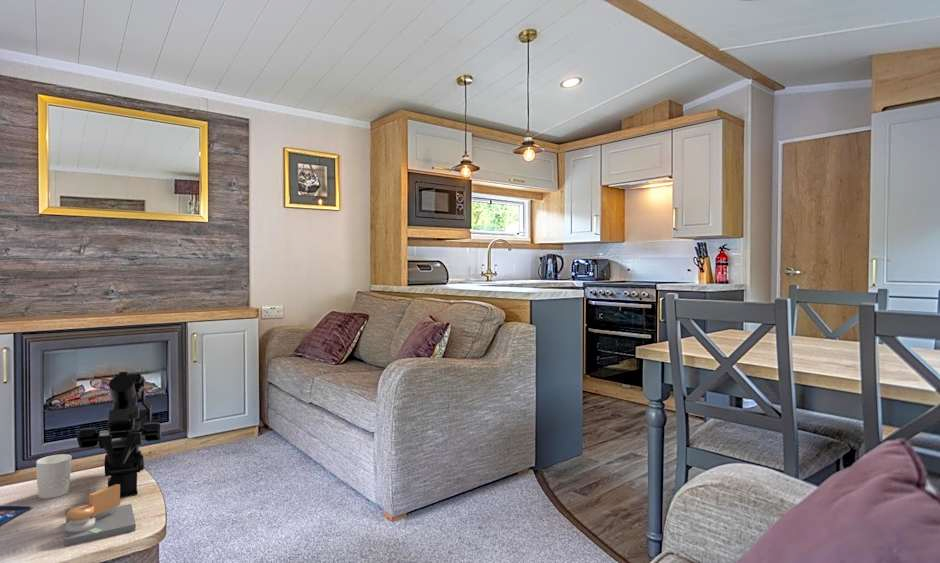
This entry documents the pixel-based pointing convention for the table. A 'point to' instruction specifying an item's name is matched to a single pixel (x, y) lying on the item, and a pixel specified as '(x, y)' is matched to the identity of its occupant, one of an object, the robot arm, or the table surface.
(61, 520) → the table surface
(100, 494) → the lever cap
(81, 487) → the table surface
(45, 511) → the table surface
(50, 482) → the white cup
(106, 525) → the base
